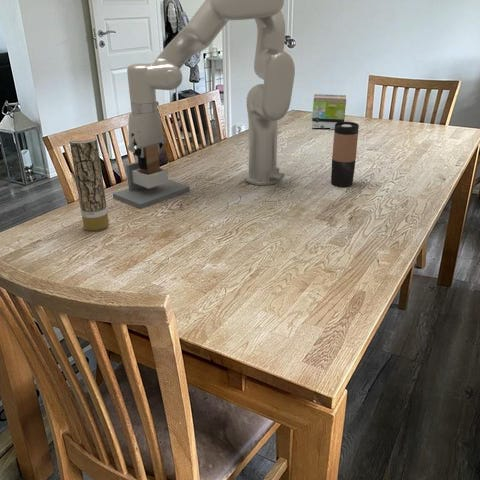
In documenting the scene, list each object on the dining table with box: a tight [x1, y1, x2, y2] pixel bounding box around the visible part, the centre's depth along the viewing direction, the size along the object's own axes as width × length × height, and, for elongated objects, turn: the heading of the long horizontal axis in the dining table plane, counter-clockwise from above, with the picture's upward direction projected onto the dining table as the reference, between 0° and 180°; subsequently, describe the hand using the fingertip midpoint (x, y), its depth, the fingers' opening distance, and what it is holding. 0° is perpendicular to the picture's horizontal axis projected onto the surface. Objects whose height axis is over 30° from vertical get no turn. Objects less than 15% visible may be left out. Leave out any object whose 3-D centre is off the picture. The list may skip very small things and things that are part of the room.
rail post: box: [139, 144, 161, 175], centre depth 154 cm, size 4×4×10 cm
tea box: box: [311, 93, 347, 130], centre depth 233 cm, size 15×10×15 cm
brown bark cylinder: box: [68, 133, 110, 232], centre depth 131 cm, size 7×7×25 cm
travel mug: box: [330, 121, 360, 188], centre depth 161 cm, size 8×8×20 cm
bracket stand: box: [112, 161, 191, 210], centre depth 157 cm, size 14×20×10 cm
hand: (149, 166), depth 155 cm, fingers closed on rail post, 4 cm apart
